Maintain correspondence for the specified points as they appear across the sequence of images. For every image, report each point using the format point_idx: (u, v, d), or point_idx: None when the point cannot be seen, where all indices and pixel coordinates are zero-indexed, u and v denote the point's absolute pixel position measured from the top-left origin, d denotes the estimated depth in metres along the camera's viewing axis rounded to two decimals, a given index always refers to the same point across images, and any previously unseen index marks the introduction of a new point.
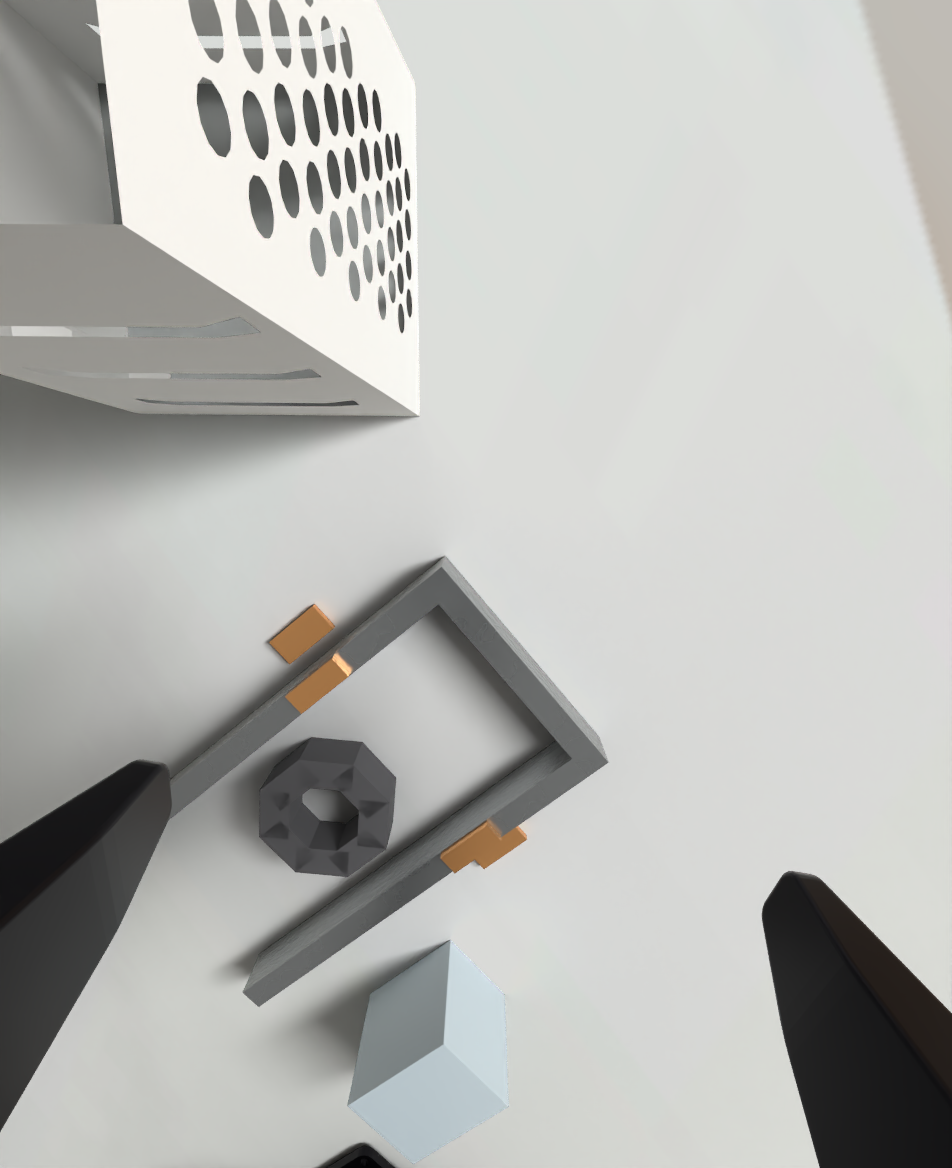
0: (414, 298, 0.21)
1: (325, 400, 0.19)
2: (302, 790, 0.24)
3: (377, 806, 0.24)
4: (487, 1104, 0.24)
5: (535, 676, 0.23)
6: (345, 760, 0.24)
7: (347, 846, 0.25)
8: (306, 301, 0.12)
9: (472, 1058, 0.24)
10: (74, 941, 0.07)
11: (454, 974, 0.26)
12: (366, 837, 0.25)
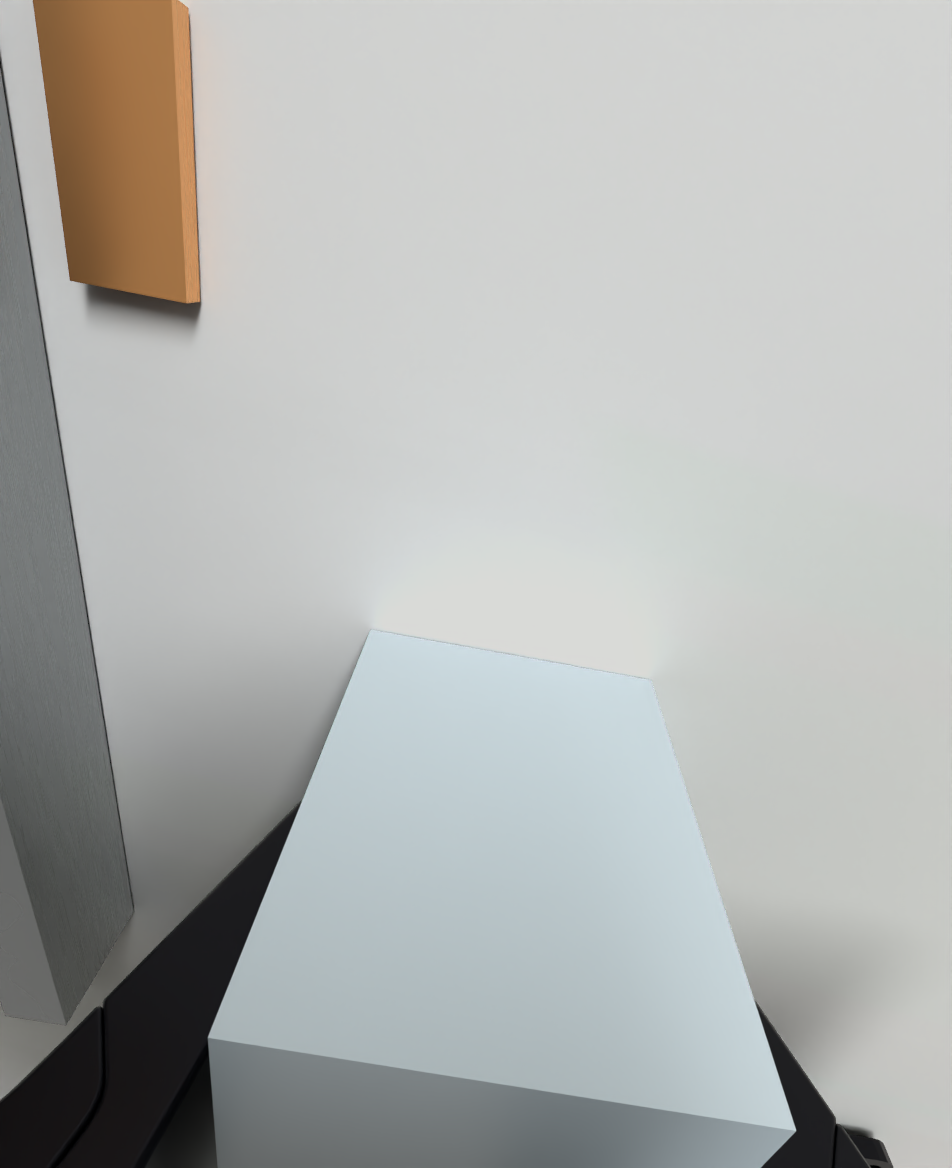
0: None
1: None
2: None
3: None
4: (679, 1153, 0.04)
5: None
6: None
7: None
8: None
9: (470, 995, 0.04)
10: None
11: (376, 711, 0.07)
12: None
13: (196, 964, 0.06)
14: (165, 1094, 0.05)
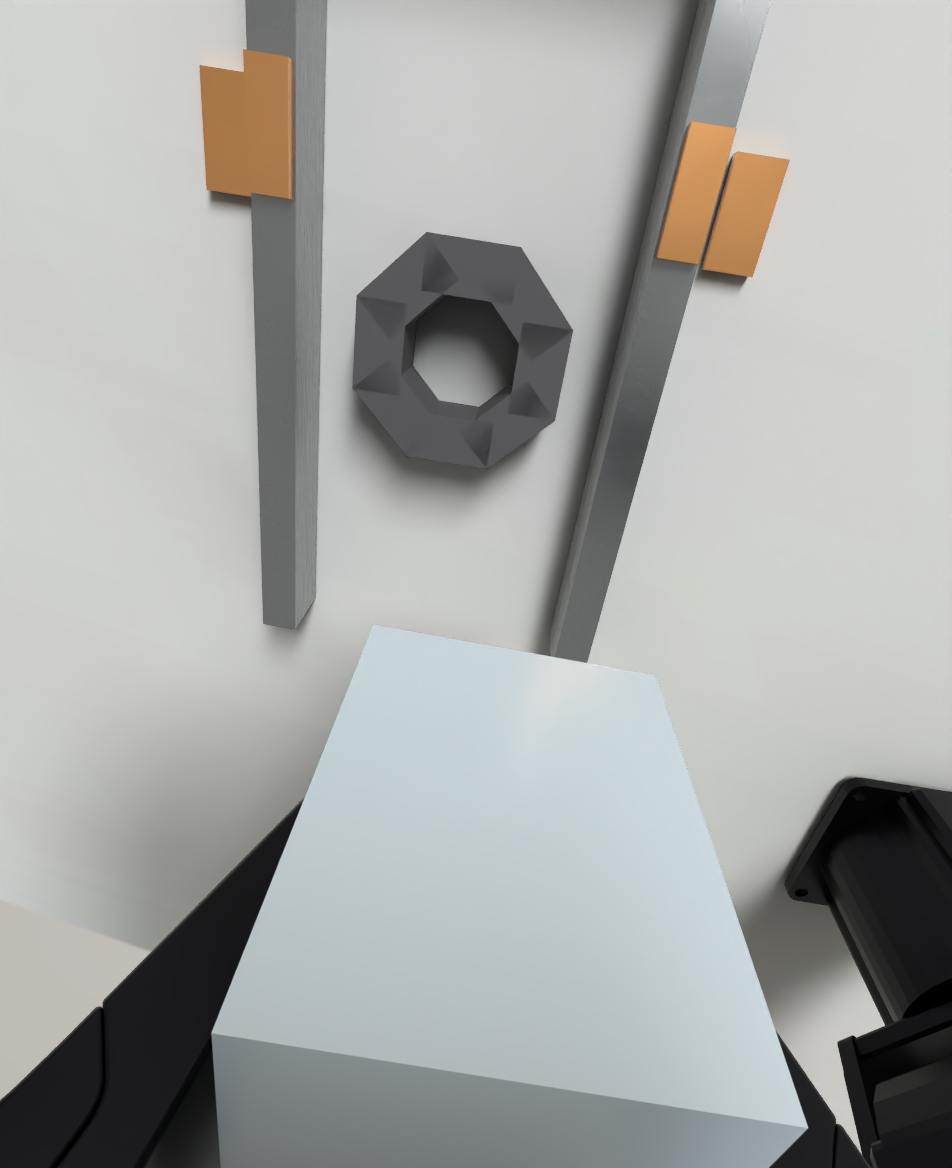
0: None
1: None
2: (398, 338, 0.15)
3: (509, 270, 0.14)
4: (689, 1150, 0.04)
5: None
6: None
7: (519, 373, 0.15)
8: None
9: (477, 991, 0.04)
10: None
11: (379, 706, 0.07)
12: (533, 336, 0.14)
13: (196, 963, 0.06)
14: (165, 1094, 0.05)
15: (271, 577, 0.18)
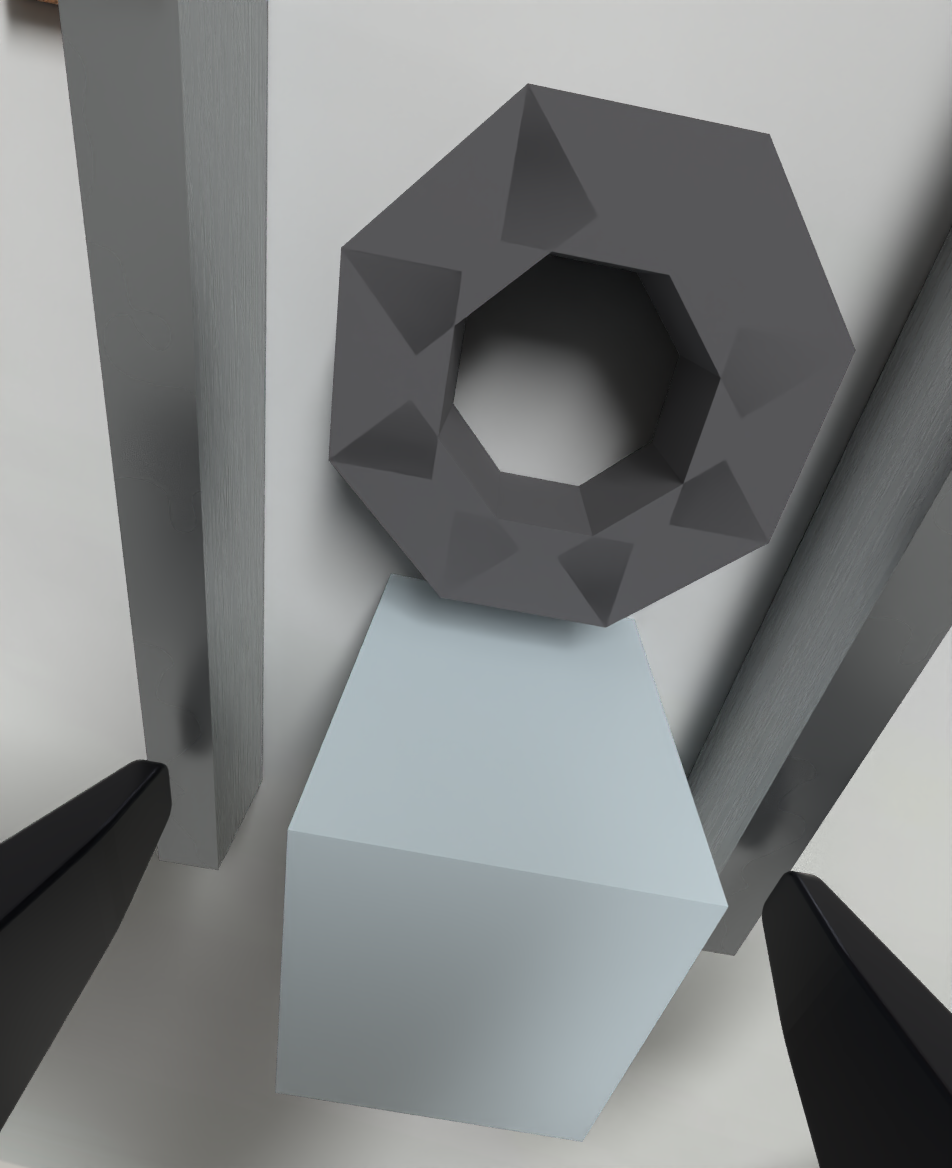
0: None
1: None
2: (437, 355, 0.06)
3: (729, 196, 0.05)
4: (642, 933, 0.06)
5: None
6: None
7: (708, 442, 0.07)
8: None
9: (483, 816, 0.06)
10: (74, 941, 0.07)
11: (401, 631, 0.08)
12: (756, 361, 0.06)
13: None
14: None
15: None
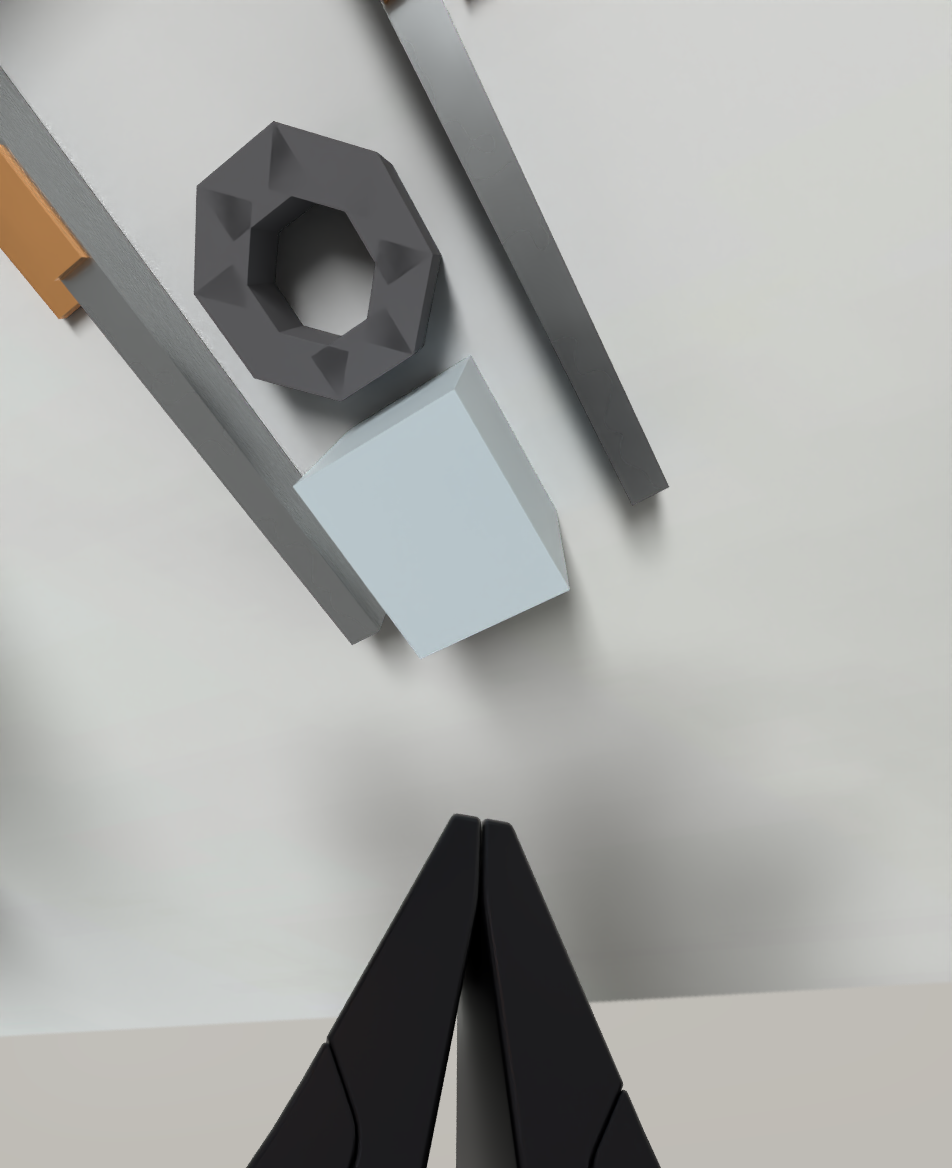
0: None
1: None
2: (251, 301, 0.14)
3: (282, 151, 0.13)
4: (442, 431, 0.12)
5: None
6: None
7: (366, 238, 0.13)
8: None
9: (364, 440, 0.13)
10: None
11: (347, 436, 0.16)
12: (349, 192, 0.13)
13: (397, 997, 0.06)
14: (416, 1134, 0.05)
15: (325, 598, 0.17)
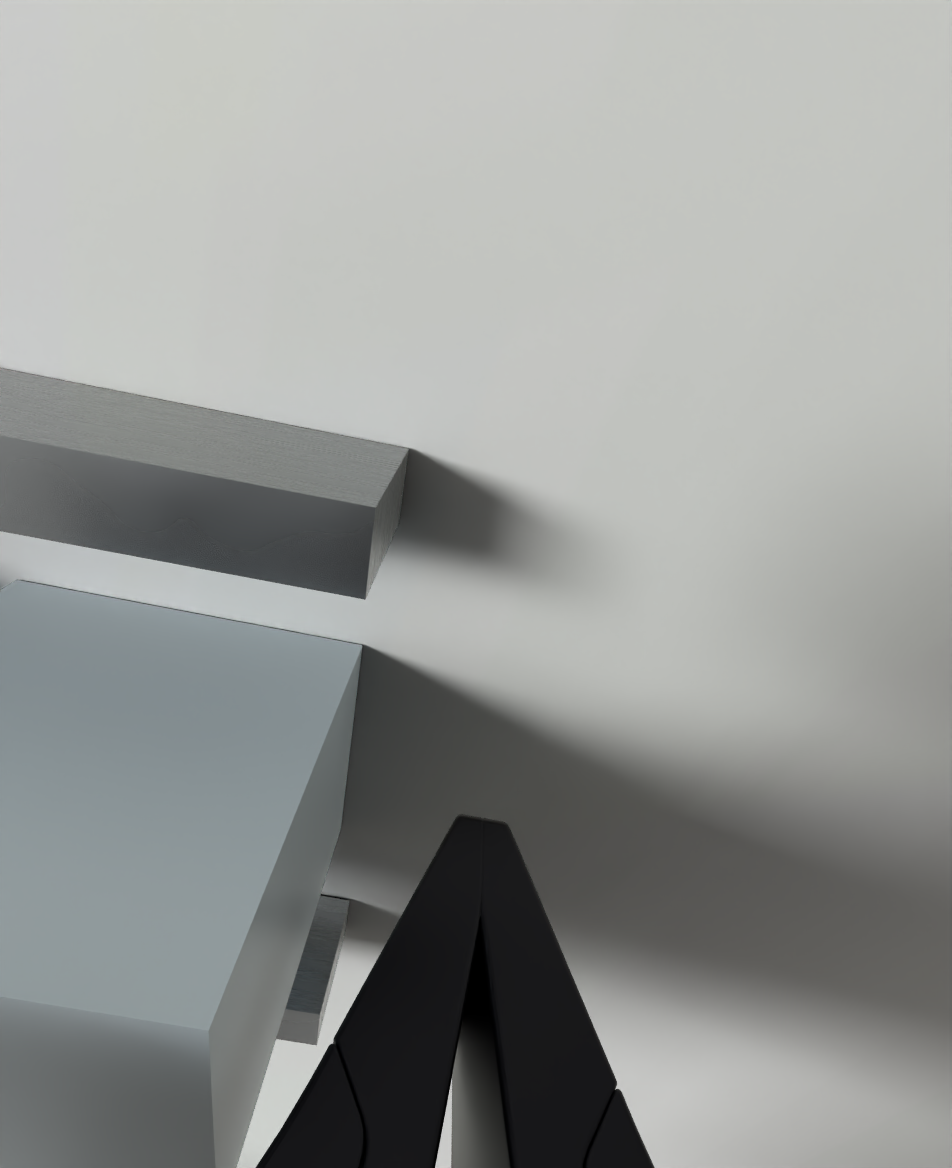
0: None
1: None
2: None
3: None
4: None
5: None
6: None
7: None
8: None
9: None
10: None
11: None
12: None
13: (404, 998, 0.06)
14: (424, 1135, 0.05)
15: None
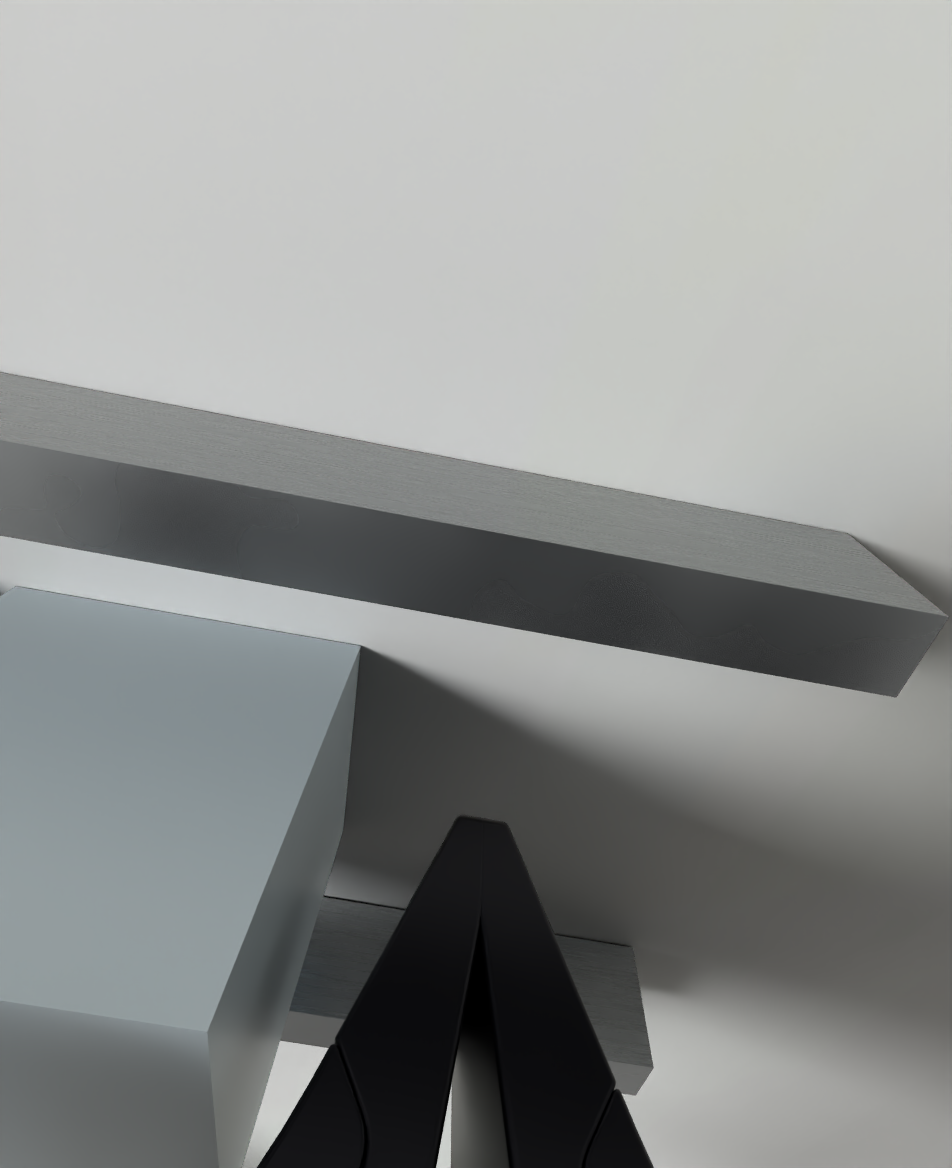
0: None
1: None
2: None
3: None
4: None
5: None
6: None
7: None
8: None
9: None
10: None
11: None
12: None
13: (405, 997, 0.06)
14: (425, 1135, 0.05)
15: None
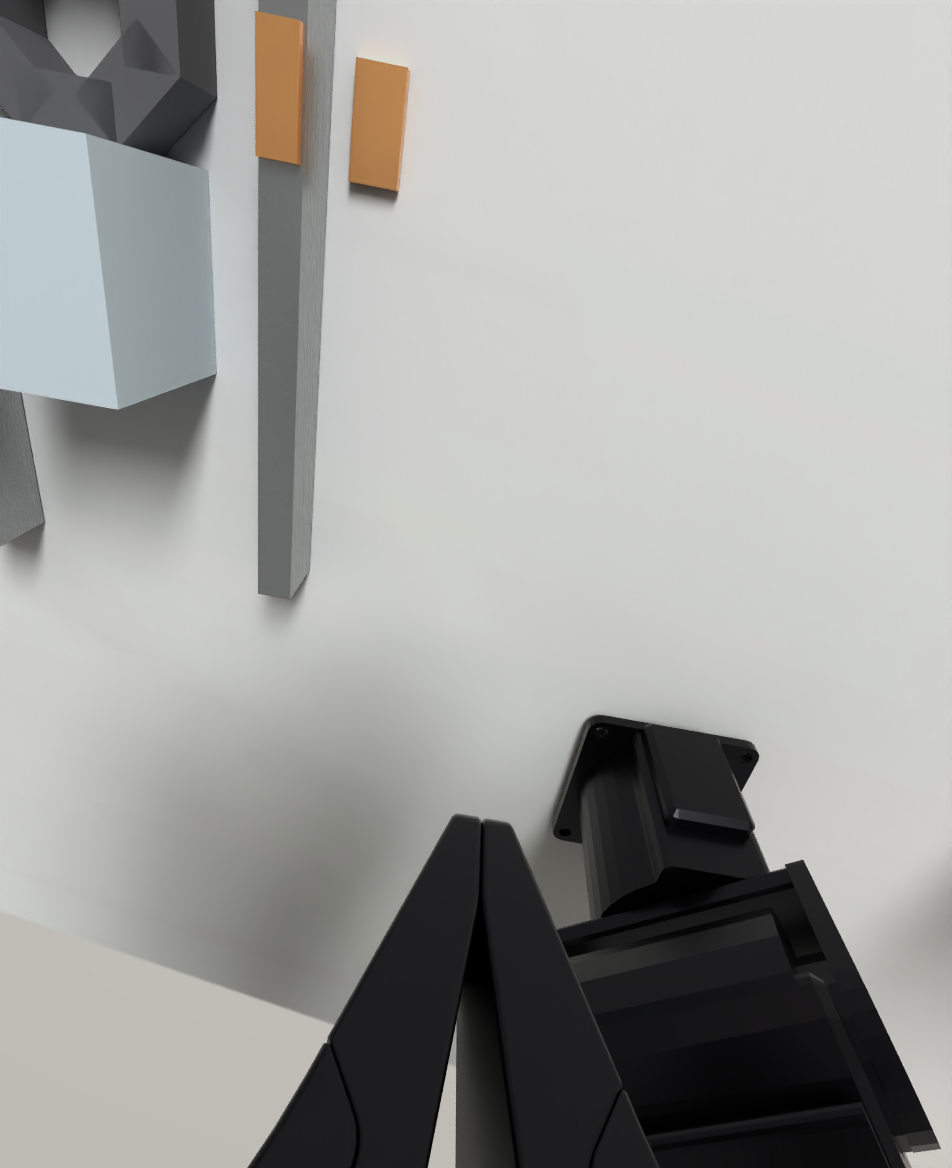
0: None
1: None
2: None
3: None
4: (56, 165, 0.11)
5: None
6: None
7: (124, 5, 0.12)
8: None
9: None
10: None
11: None
12: None
13: (398, 997, 0.06)
14: (417, 1134, 0.05)
15: None
